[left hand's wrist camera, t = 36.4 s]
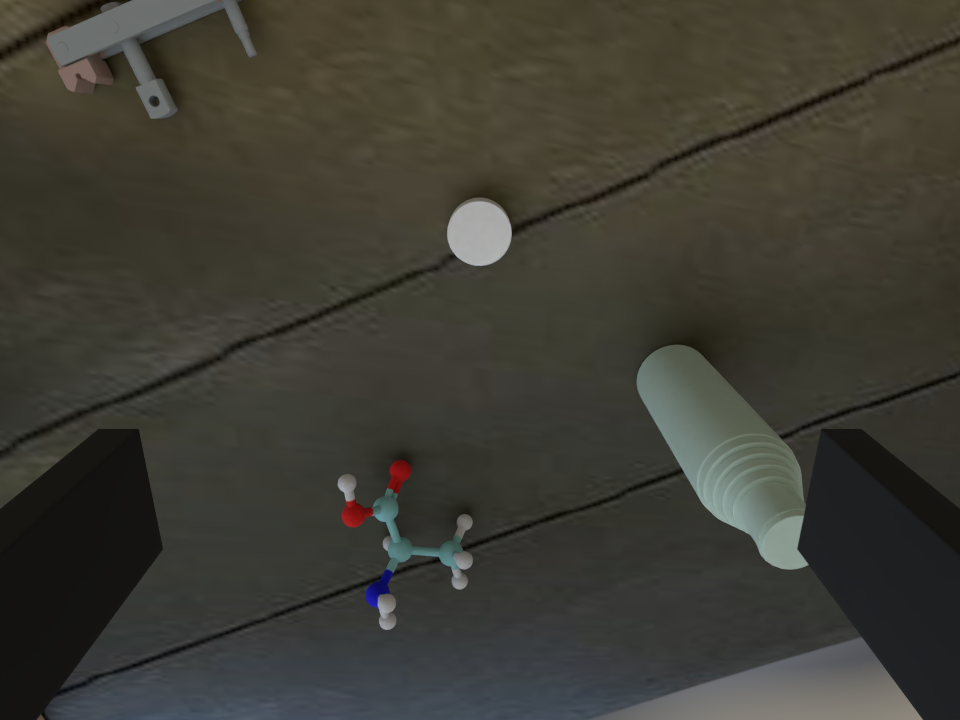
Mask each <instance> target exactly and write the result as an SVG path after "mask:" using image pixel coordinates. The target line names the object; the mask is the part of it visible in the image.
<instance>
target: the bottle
mask: <svg viewBox="0 0 960 720" xmlns="http://www.w3.org/2000/svg"><path fill="white" fill-rule="evenodd" d="M637 389H638V392H639V395H640V397H641V398H642V400H643V402H644V404H645V405H646V407H647V409H648V410H649V412H650V414H651V416H652V417H653V419H654V421H655V423H656V424H657V426H658V428H659V429H660V431H661V433H662V435H663V436H664V438H665V440H666V442H667V443H668V445H669V447H670V448H671V450H672V452H673V454H674V455H675V457H676V459H677V460H678V462H679V464H680V466H681V467H682V469H683V471H684V473H685V474H686V476H687V478H688V479H689V481H690V483H691V485H692V486H693V488H694V490H695V492H696V493H697V495H698V497H699V498H700V500H701V502H702V503H703V505H704V506H705V507H706V508H707V509H708V510H709V511H710V512H711V513H712V514H713V515H714V516H716V517H717V518H718V519H720V520H721V521H723V522H725V523H728V524H730V525H732V526H734V527H736V528H738V529H740V530H743V531H744V532H746V533H748V534H750V535H751V536H752V538H753V539H754V541H755V542H756V544H757V546H758V549H759V552H760V554H761V555H762V557H763V558H764V559H765V560H766V561H767V562H769V563H770V564H772V565H773V566H776V567H779V568H782V569H797V568H802V567H804V566H807V565H808V563H807V562H806V560H805V559H804V558H803V556H802V555H801V554H800V552H799V551H798V550H797V547H798V542H799V537H800V532H801V527H802V522H803V517H804V513H805V508H806V504H805V503H804V497H803V488H802V478H801V470H800V466H799V464H798V462H797V460H796V458H795V456H794V454H793V452H792V450H791V449H790V448H789V447H788V446H787V445H786V444H785V442H784V441H783V440H782V439H781V438H780V437H779V436H778V435H777V434H776V433H775V432H774V431H773V430H772V429H771V428H770V427H769V426H768V424H767V423H766V422H765V421H764V420H763V419H762V418H761V417H760V416H759V415H758V414H757V413H756V412H755V411H754V410H753V409H752V407H751V406H750V405H749V404H748V403H747V402H746V401H745V400H744V399H743V398H742V397H741V396H740V395H739V394H738V393H737V392H736V391H735V389H734V388H733V387H732V386H731V385H730V384H729V383H728V382H727V381H726V380H725V379H724V378H723V377H722V376H721V375H720V374H719V373H718V371H717V370H716V369H715V368H714V367H713V366H712V365H711V364H710V363H709V362H708V361H707V360H706V359H705V358H704V357H703V356H702V355H701V354H700V353H699V352H698V351H697V350H695V349H693V348H691V347H688V346H684V345H669V346H665V347H662V348H660V349H658V350H656V351H654V352H653V353H652V354H650V355H649V356H648V357H647V358H646V359H645V360H644V362H643V363H642V365H641V367H640V369H639V371H638V375H637Z"/></svg>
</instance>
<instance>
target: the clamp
mask: <svg viewBox="0 0 960 720" xmlns="http://www.w3.org/2000/svg"><path fill="white" fill-rule="evenodd" d="M240 1H242V0H132V1H129V2H127V3H125V4H121V3H119V2H111V3H108V4H105V5H103V6H102V7H101V9H100V10H101V12H102V14H99V15H97V16H95V17H92V18H90V19H88V20H86V21H83V22H81V23H79V24H76V25H74V26H72V27H68V26H64V27H62V28H60V29H58V30H55V31H53V32H51V33H48V36H47V41H46V44H47V46H48V48H49V50H50V52H51V54H52V55H53V57H54V59H55V61H56V63H57V65H58V67H59V68H60V70H58V73H59V74H60V76H61V78H62V80H63V82H64V84H65V86H66V87H67V89H68V90H71V91H73V92H82V93H93V92H94V88H95V84H106V85H113V82H114V77H113V75H112V73H111V71H110V70H109V68H108V66H107V64H106V62H105V61H102V60H103V59H106V58H108V57H110V56H113V55H115V54H117V53H120V52H122V51H124V53H125V55H126V57H127V59H128V61H129V63H130V65H131V67H132V69H133V71H134V73H135V75H136V77H137V79H138V81H139V83H140V86H138V87H136V90H137V92H138V94H139V96H140V98H141V100H142V102H143V104H144V106H145V108H146V110H147V112H148V114H149V116H150V118H151V119H160V118H167V117H169V116H172V115H173V114H175V113H176V112H177V111H178V110H177V108H176V106H175V104H174V102H173V99H172V97H171V95H170V93H169V91H168V89H167V87H166V85H165V83H164V81H163V79H156V77H155V75H154V73H153V71H152V69H151V67H150V65H149V63H148V61H147V59H146V57H145V55H144V53H143V51H142V49H141V47H140V45H139V44H141V43H143V42H146V41H148V40H150V39H153V38H155V37H157V36H160V35H162V34H164V33H167V32H169V31H172V30H174V29H176V28H179V27H181V26H183V25H186V24H188V23H190V22H193V21H195V20H197V19H200V18H202V17H204V16H207V15H209V14H211V13H214V12H216V11H219V10H221V9H223V8H225V10H226V12H227V15H228V17H229V19H230V21H231V24H232V26H233V28H234V31H235V33H236V34H238V36H239V38H240V40H241V41H242V43H243V45H244V48H245V50H246V52H247V54H248V57H253V56H255V55H257V53H256V50H255V48H254V46H253V44H252V41H251V39H250V35H249V32H248V30H249V29H248V26H247V24H246V22H245V20H244V17H243V15H242V13H241V10H240V8H239V6H238V3H237V2H240ZM157 97H158V98H159V101H160V104H159V106H158V104H157V102H156V99H157Z"/></svg>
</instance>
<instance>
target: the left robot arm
mask: <svg viewBox="0 0 960 720" xmlns="http://www.w3.org/2000/svg"><path fill="white" fill-rule="evenodd" d="M162 550H163V547H162V542H161V537H160V532H159V527H158V522H157V517H156V513H155V508H154V503H153V498H152V493H151V488H150V483H149V478H148V473H147V468H146V463H145V458H144V453H143V448H142V443H141V439H140V434H139V429H98V430H97V431H96V432H95V433H93V434H92V435H91V436H90V437H88V438H87V439H86V440H85V441H83V442H82V443H81V444H80V445H78V446H77V447H76V448H75V449H74V450H72V451H71V452H70V453H69V454H67V455H66V456H65V457H64V458H62V459H61V460H60V461H59V462H58V463H56V464H55V465H54V466H53V467H51V468H50V469H49V470H48V471H46V472H45V473H44V474H43V475H42V476H40V477H39V478H38V479H37V480H35V481H34V482H33V483H32V484H30V485H29V486H28V487H27V488H25V489H24V490H23V491H22V492H21V493H19V494H18V495H17V496H16V497H14V498H13V499H12V500H11V501H9V502H8V503H7V504H6V505H5V506H3V507H2V508H1V509H0V720H37V719H38V718H39V716H40V715H41V713H42V712H43V711H44V709H45V708H46V707H47V705H48V704H49V703H50V701H51V700H52V699H53V697H54V696H55V695H56V693H57V692H58V690H59V689H60V688H61V686H62V685H63V684H64V682H65V681H66V680H67V678H68V677H69V676H70V674H71V673H72V671H73V670H74V669H75V667H76V666H77V665H78V663H79V662H80V661H81V659H82V658H83V657H84V655H85V654H86V653H87V651H88V650H89V648H90V647H91V646H92V644H93V643H94V642H95V640H96V639H97V638H98V636H99V635H100V634H101V632H102V631H103V630H104V628H105V627H106V625H107V624H108V623H109V621H110V620H111V619H112V617H113V616H114V615H115V613H116V612H117V611H118V609H119V608H120V607H121V605H122V604H123V602H124V601H125V600H126V598H127V597H128V596H129V594H130V593H131V592H132V590H133V589H134V588H135V586H136V585H137V583H138V582H139V581H140V579H141V578H142V577H143V575H144V574H145V573H146V571H147V570H148V569H149V567H150V566H151V565H152V563H153V562H154V560H155V559H156V558H157V556H158V555H159V554H160V552H161V551H162ZM797 550H798V551H799V552H800V554H801V555H802V556H803V558H804V559H805V560H806V562H807V563H808V565H809V566H810V567H811V569H812V570H813V571H814V573H815V574H816V575H817V577H818V578H819V579H820V581H821V582H822V583H823V585H824V586H825V588H826V589H827V590H828V592H829V593H830V594H831V596H832V597H833V598H834V600H835V601H836V602H837V604H838V605H839V607H840V608H841V609H842V611H843V612H844V613H845V615H846V616H847V617H848V619H849V620H850V621H851V623H852V624H853V625H854V627H855V628H856V630H857V631H858V632H859V634H860V635H861V636H862V638H863V639H864V640H865V642H866V643H867V644H868V646H869V647H870V648H871V650H872V651H873V653H874V654H875V655H876V657H877V658H878V659H879V661H880V662H881V663H882V665H883V666H884V667H885V669H886V670H887V671H888V673H889V674H890V676H891V677H892V678H893V680H894V681H895V682H896V684H897V685H898V686H899V688H900V689H901V690H902V692H903V693H904V695H905V696H906V697H907V698H908V700H909V701H910V703H911V704H912V705H913V707H914V708H915V709H916V711H917V712H918V713H919V715H920V716H921V717H922V719H923V720H960V509H959V508H958V507H957V506H955V505H954V504H953V503H952V502H951V501H949V500H948V499H947V498H946V497H944V496H943V495H942V494H941V493H939V492H938V491H937V490H936V489H935V488H933V487H932V486H931V485H930V484H928V483H927V482H926V481H925V480H923V479H922V478H921V477H920V476H918V475H917V474H916V473H915V472H914V471H912V470H911V469H910V468H909V467H907V466H906V465H905V464H904V463H902V462H901V461H900V460H899V459H898V458H896V457H895V456H894V455H893V454H891V453H890V452H889V451H888V450H886V449H885V448H884V447H883V446H882V445H880V444H879V443H878V442H877V441H875V440H874V439H873V438H872V437H870V436H869V435H868V434H867V433H865V432H864V431H863V430H862V429H821V434H820V439H819V443H818V448H817V453H816V458H815V463H814V468H813V473H812V478H811V483H810V488H809V493H808V498H807V503H806V508H805V513H804V517H803V522H802V527H801V532H800V537H799V542H798V547H797Z"/></svg>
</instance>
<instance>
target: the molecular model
mask: <svg viewBox="0 0 960 720" xmlns="http://www.w3.org/2000/svg"><path fill="white" fill-rule="evenodd" d="M410 474H411V467H410V465H409V464H408V463H407V462H406V461H404V460H398V461H395V462H394V463H393V464H392V465H391V467H390V475H391V477H392V478H391V480H390V483H389V485H388V488H387V491H386V493H385V496H382V497H380V498H378V499H377V500H376V501H375V503H374V505H373V507H369V508H363V507H362V506H361V505H360V504H357V503H356V500H355V495H354V489H355V487H356V479H355V477H354V476H353V475H351V474H344V475H342V476H341V477H340V478H339V481H338V487H339V489H340V490H341V491H343V492H344V493H345V498H346V503H347V506H346V507H345V508H344V510H343V512H342V519H343V522H344V523H345V524H346V525H347V526H350V527H357V526H359V525H361V524H362V523H363V522H364V520H365V517H370V516H374V515H375V517H376V518H377V519H378V520H380V521H383V522H386V524H387V526H388V529H389V532H390V535H389V536H387V537H385V539H384V540H383V547H384V549H385V550H387V551H388V554H389V556H390V558H391V560H390V562H389V564H388V566H387V568H386V570H385V572H384V574H383V576H382V578H381V580H380V582H375V583H372V584H371V585H370V586H369V587H368V588H367V590H366V600H367V602H368V603H369V605H371V606H372V607H377V608H378V609H379V611H380V614H381V617H380V619H379V623H380V626H381V627H382V628H383V629H385V630H389V629H392V628H393V627H394V626H395V624H396V617H395V615H394V614H393V613H392V611H393V610H394V608H395V606H396V600H395V598H394V597H393V596H392V595H391V594H390V591H389V588H388V586H387V585H388V583H389V581H390V579H391V577H392V575H393V572H394V570H395V568H396V566H397V564H398V562H404V561H406V560H408V559H409V558H410V556H411V554H412V555H425V556H439V558H440V560H441V562H442V563H443V564H445V565H447V566H451V568H452V571H453V574H454V576H453V577H452V584H453V586H454V587H455V588H456V589H463V588H465V587H466V585H467V583H468V579H467V576H466V575H465V574H464V573H461V570H460V568H461V569H468V568H469V567H470V566H471V565H472V563H473V558H472V555H471V554H470V553H469V552H467V551H463V549H462V547H461V545H460V542H461V540H462V537H463V535H464V533H465V530H468V529H470V528H471V526H472V524H473V521H472V518H471V517H470V516H469V515H467V514H462V515H460V516H459V517H458V519H457V525H458V529H457V531H456V533H455V535H454V538H453V540H452V541H446V542H445V543H443V544H442V545H441V547H440V548H432V547H419V546H412V544H411V542H410V540H408V539H407V538H405V537H400V535H399V532H398V529H397V526H396V523H395V520H394V518H395V517H396V516H397V514H398V510H399V507H398V503H397V501H396V498H397V496H398V493H399V490H400V488H401V485H402V482H403V481H405V480H407V479H408V478H409V476H410Z"/></svg>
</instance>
